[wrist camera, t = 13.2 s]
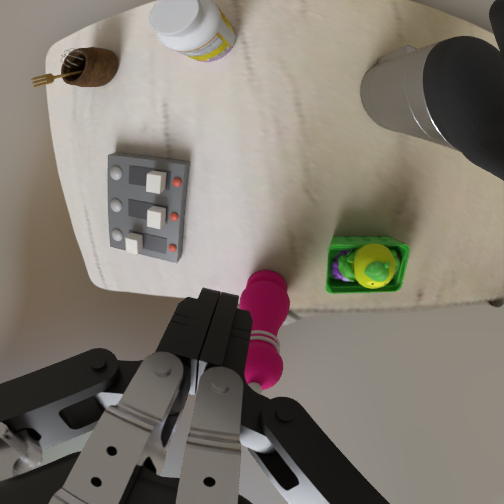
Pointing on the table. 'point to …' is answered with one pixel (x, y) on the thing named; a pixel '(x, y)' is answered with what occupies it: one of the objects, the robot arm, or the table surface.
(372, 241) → the fruit basket
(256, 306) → the pepper mill
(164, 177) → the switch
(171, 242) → the switch panel
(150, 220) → the middle switch
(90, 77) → the utensil holder
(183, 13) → the supplement bottle
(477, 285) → the table surface
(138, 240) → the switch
